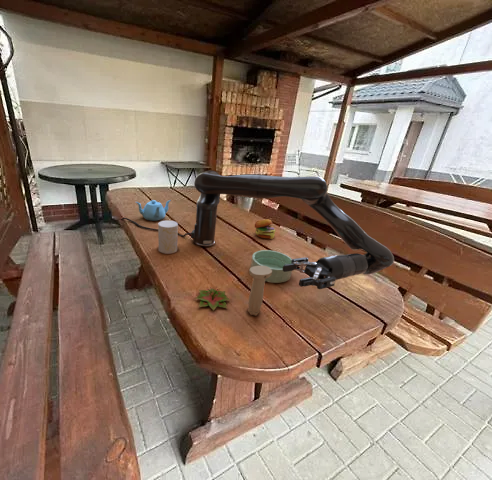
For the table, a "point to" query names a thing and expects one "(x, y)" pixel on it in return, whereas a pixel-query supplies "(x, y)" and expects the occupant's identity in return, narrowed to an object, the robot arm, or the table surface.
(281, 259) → the pale green bowl
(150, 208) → the teapot
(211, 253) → the table surface
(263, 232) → the cheeseburger
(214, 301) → the lily flower
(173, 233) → the white cylinder
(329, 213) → the robot arm
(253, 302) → the handle
